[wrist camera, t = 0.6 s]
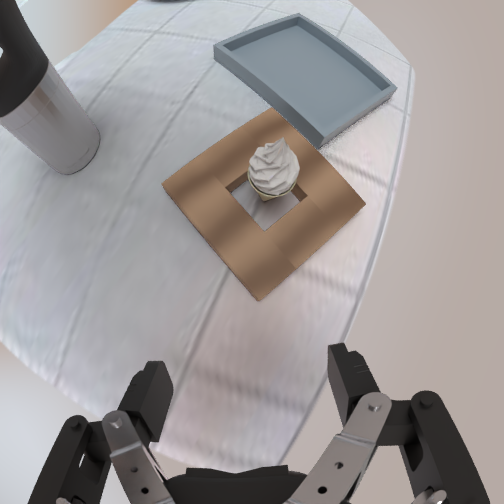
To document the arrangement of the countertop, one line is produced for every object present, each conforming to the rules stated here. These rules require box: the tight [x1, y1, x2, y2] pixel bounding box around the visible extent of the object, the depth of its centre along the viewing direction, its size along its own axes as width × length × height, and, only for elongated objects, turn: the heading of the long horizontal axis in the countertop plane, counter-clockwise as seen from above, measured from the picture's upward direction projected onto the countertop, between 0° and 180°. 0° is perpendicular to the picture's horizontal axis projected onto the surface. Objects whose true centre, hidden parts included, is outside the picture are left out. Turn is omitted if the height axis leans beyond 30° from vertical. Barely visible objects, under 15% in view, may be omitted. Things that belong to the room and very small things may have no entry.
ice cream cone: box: [248, 137, 300, 202], centre depth 29 cm, size 5×5×15 cm
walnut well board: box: [162, 107, 366, 301], centre depth 35 cm, size 18×18×3 cm
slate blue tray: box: [214, 13, 397, 150], centre depth 39 cm, size 24×20×4 cm
